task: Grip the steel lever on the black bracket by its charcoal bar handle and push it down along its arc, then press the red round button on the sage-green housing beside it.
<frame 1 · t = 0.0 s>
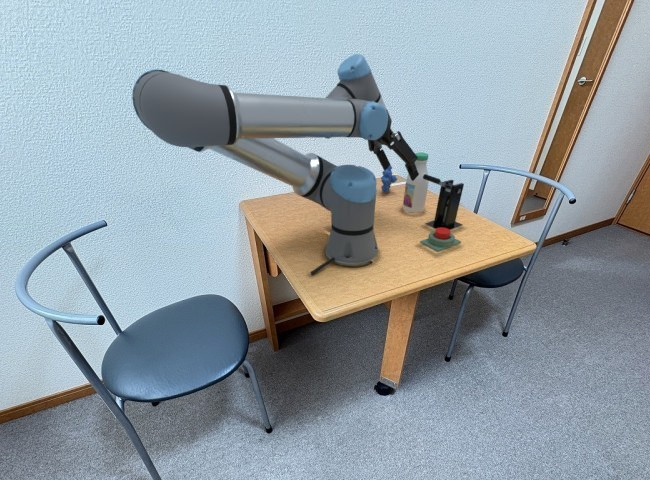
hand: (400, 172, 107), 15 cm above the table, tool tilted 35°, fingers open, 13 cm apart
milk bottle: (412, 212, 120), on the table
button box: (439, 246, 98), on the table
bracket: (443, 227, 109), on the table
button: (442, 233, 96), point 4 cm above the table, slide at 0.1 cm
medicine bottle: (341, 206, 124), on the table
lever: (442, 184, 98), point 15 cm above the table, hinge at 25.0°
grapes: (387, 193, 135), on the table
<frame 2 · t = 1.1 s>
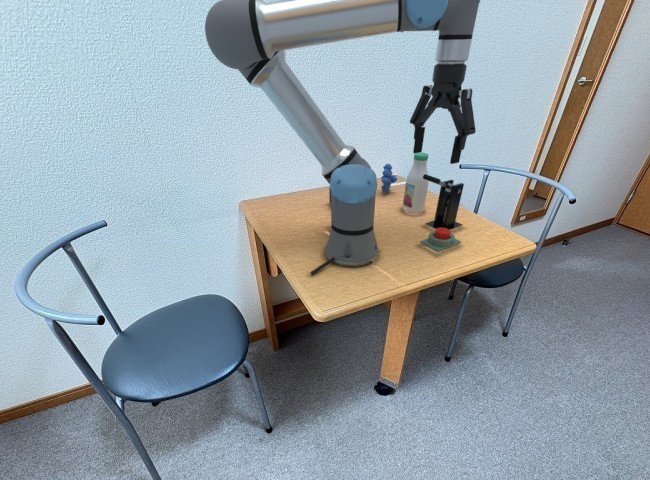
hand: (434, 157, 90), 23 cm above the table, tool pointing down, fingers open, 13 cm apart
nothing on the table moved.
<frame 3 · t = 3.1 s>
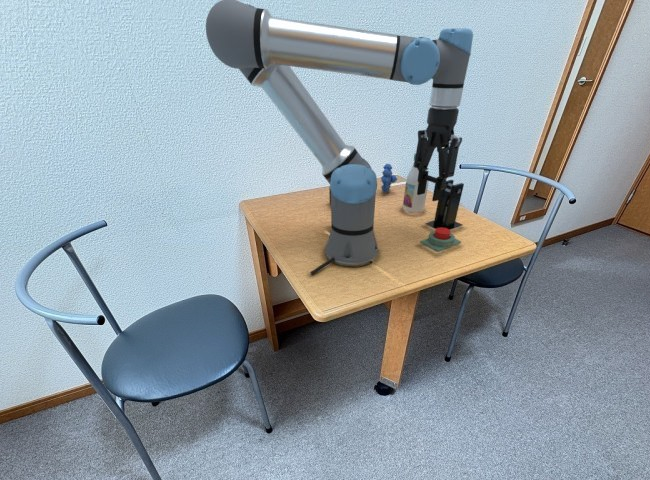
hand: (428, 196, 97), 12 cm above the table, tool pointing down, fingers closed on lever, 5 cm apart
lever: (442, 184, 98), point 15 cm above the table, hinge at 25.0°, touching gripper
everything else where it was.
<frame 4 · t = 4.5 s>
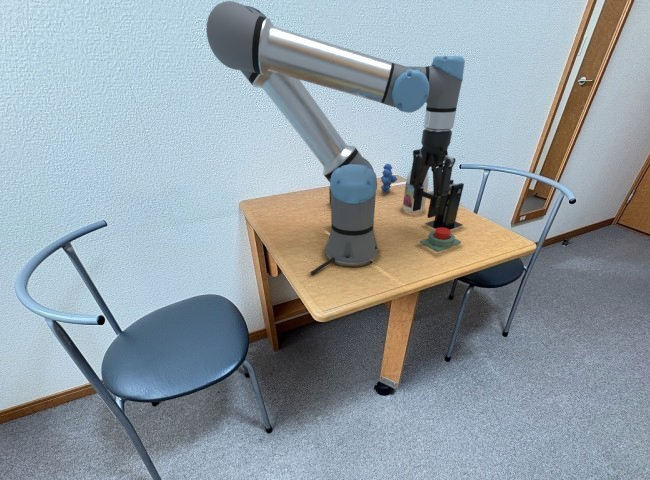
hand: (423, 213, 100), 8 cm above the table, tool pointing down, fingers closed on lever, 5 cm apart
lever: (440, 191, 99), point 13 cm above the table, hinge at 0.8°, touching gripper
everything else where it was.
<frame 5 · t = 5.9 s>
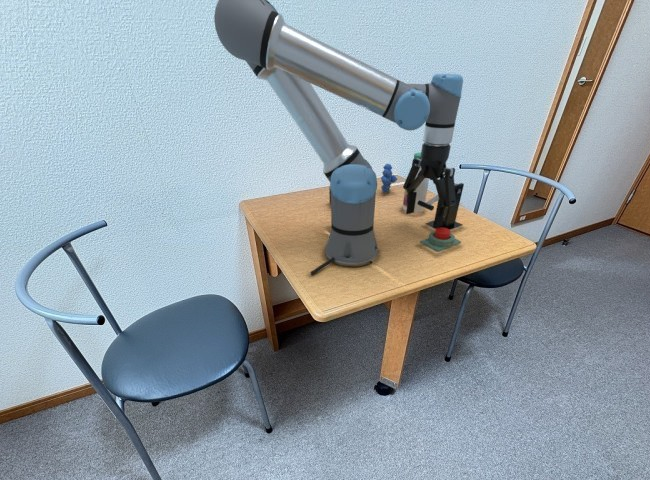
hand: (423, 219, 101), 5 cm above the table, tool pointing down, fingers open, 11 cm apart
button: (442, 233, 96), point 4 cm above the table, slide at 0.1 cm, touching gripper
lever: (439, 196, 100), point 12 cm above the table, hinge at -16.3°
everything else where it was.
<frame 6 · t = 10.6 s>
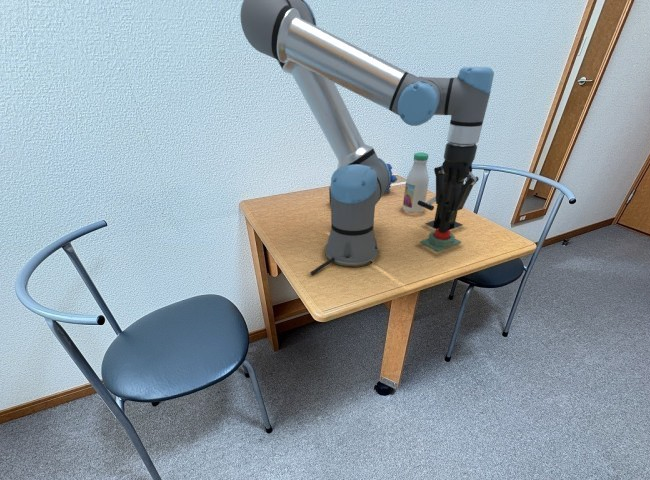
hand: (443, 230, 95), 5 cm above the table, tool pointing down, fingers closed
nothing on the table moved.
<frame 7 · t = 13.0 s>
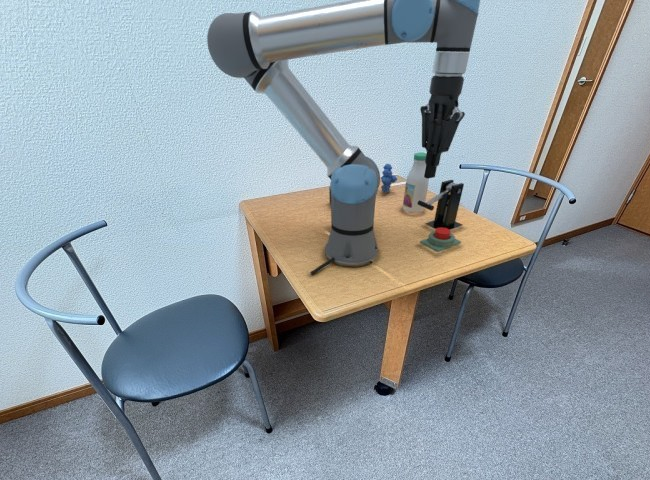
hand: (429, 177, 91), 19 cm above the table, tool pointing down, fingers closed
button: (442, 233, 96), point 4 cm above the table, slide at 0.1 cm
everything else where it was.
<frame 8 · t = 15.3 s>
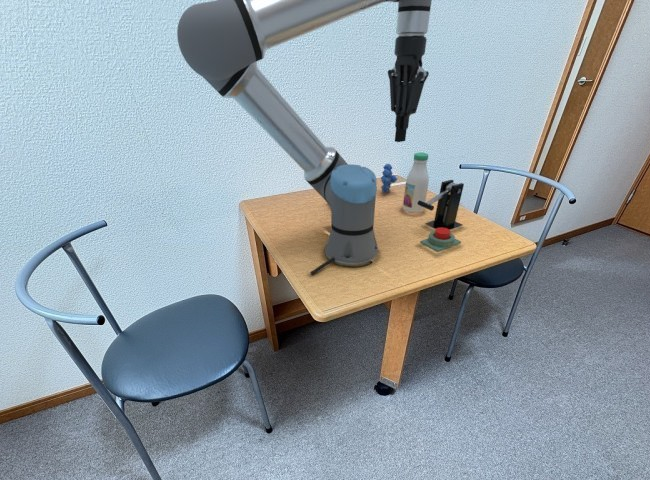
hand: (399, 141, 94), 26 cm above the table, tool pointing down, fingers closed
nothing on the table moved.
at the end: lever at -16° (first picture: +25°); button pushed in 1.0 cm at the most during the clip, back to where it started at the end; button slide at 0.1 cm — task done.
